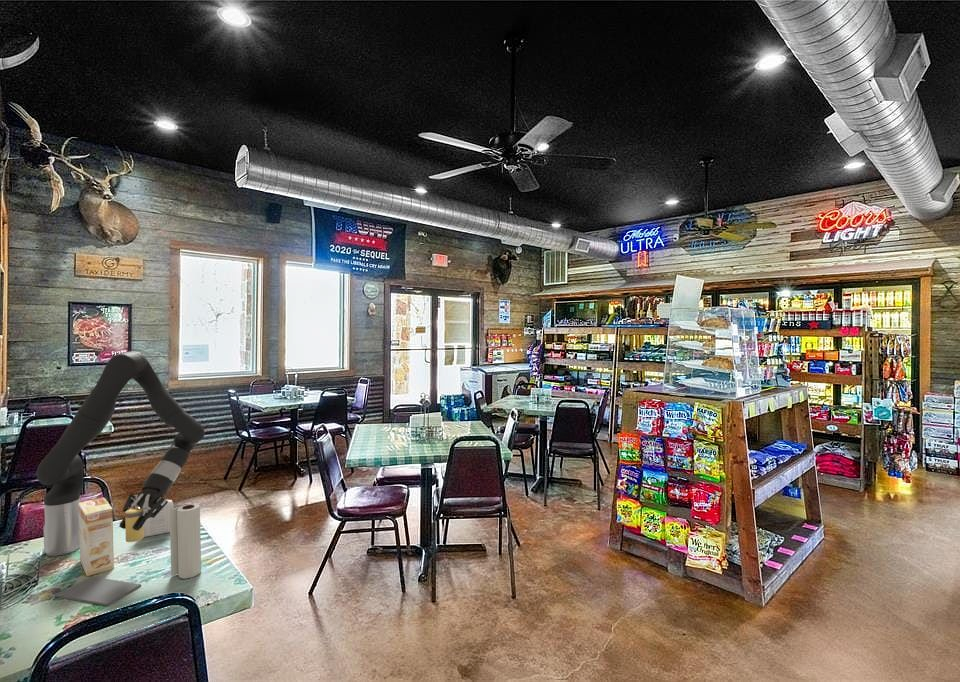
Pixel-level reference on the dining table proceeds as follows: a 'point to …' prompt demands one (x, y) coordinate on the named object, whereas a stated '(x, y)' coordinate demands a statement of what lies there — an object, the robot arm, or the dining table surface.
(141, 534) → the yellow domed cylinder
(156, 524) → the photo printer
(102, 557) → the coffeecake box
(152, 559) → the dining table surface
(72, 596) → the slate mat
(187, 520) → the paper towel roll
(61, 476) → the robot arm
